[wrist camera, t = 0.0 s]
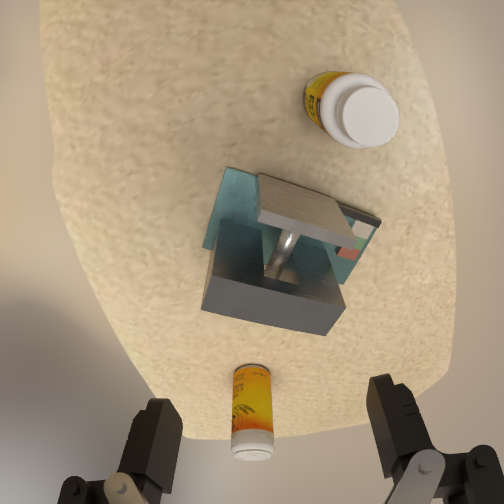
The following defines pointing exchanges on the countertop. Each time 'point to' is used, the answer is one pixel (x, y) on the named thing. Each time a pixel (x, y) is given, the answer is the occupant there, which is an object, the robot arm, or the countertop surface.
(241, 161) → the countertop surface
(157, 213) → the countertop surface
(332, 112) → the supplement bottle
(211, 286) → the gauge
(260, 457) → the beer can
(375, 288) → the countertop surface
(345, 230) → the grey plate with rod
